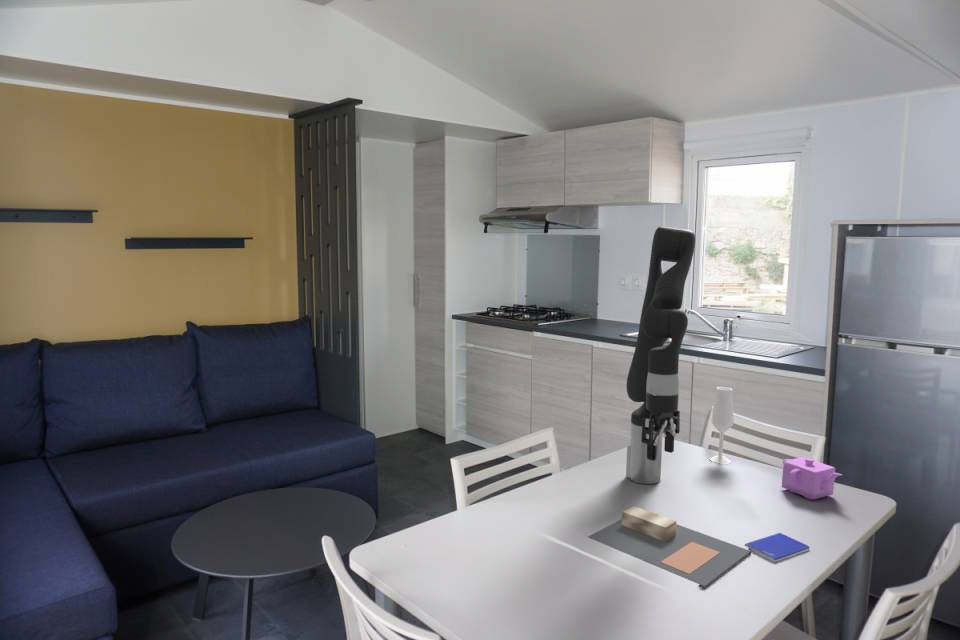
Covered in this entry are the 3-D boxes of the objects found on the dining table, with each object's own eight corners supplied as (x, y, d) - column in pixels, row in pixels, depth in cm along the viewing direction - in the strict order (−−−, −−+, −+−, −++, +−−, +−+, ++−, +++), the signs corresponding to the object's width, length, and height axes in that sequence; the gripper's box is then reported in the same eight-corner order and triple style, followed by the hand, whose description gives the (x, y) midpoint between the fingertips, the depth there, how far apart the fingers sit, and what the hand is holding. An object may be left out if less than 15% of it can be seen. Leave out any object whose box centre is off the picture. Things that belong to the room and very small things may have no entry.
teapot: (853, 501, 179) (856, 466, 178) (821, 511, 173) (824, 474, 172) (795, 479, 195) (798, 447, 194) (764, 488, 189) (766, 454, 187)
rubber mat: (587, 539, 156) (587, 536, 156) (638, 512, 171) (638, 510, 171) (704, 588, 135) (704, 585, 134) (750, 553, 150) (751, 550, 150)
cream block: (621, 525, 162) (622, 511, 162) (633, 519, 166) (633, 506, 165) (664, 541, 154) (665, 527, 153) (675, 535, 157) (676, 521, 157)
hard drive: (775, 558, 145) (809, 546, 151) (744, 543, 153) (778, 531, 159) (774, 564, 146) (809, 552, 152) (744, 549, 153) (778, 538, 159)
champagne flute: (708, 462, 209) (712, 389, 206) (709, 456, 215) (713, 385, 212) (730, 465, 207) (735, 391, 203) (731, 458, 213) (735, 387, 210)
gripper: (663, 384, 165) (661, 446, 167) (633, 393, 155) (631, 459, 157) (690, 388, 160) (688, 452, 162) (661, 398, 150) (659, 466, 152)
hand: (660, 455), depth 159 cm, fingers open, 8 cm apart
